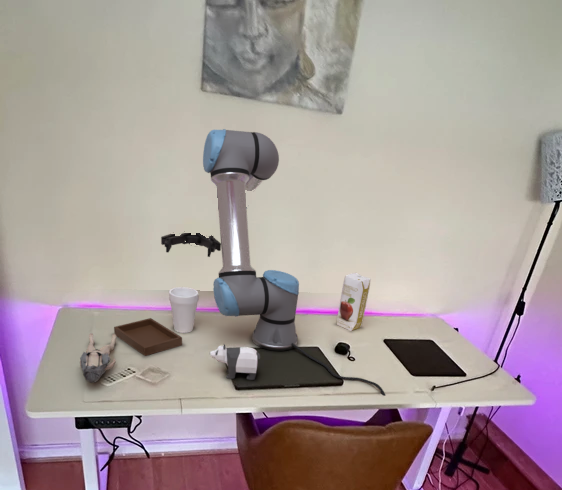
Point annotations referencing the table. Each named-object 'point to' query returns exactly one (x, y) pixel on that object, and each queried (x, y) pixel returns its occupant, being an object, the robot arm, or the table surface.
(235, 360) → the giant panda
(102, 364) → the anime figure
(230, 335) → the table surface
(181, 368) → the table surface
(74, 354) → the table surface
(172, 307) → the foam cup
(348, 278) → the juice carton
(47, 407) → the table surface
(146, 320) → the tray
